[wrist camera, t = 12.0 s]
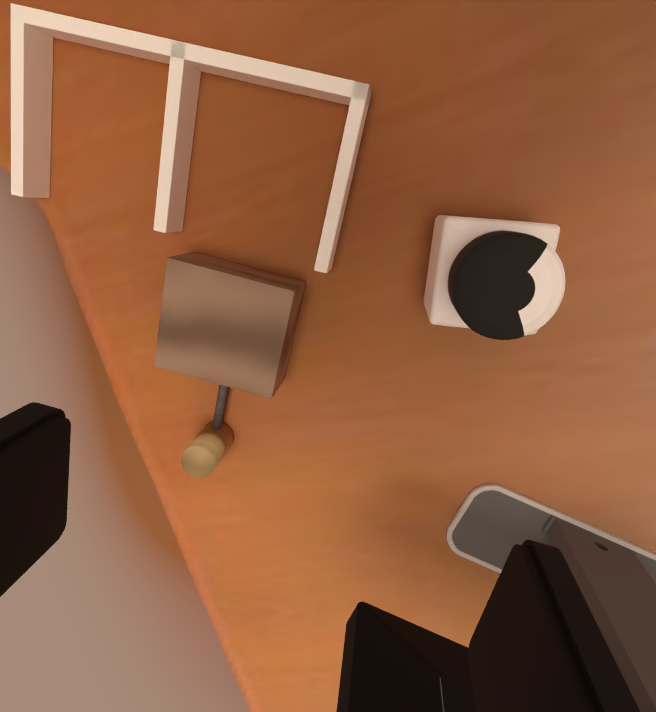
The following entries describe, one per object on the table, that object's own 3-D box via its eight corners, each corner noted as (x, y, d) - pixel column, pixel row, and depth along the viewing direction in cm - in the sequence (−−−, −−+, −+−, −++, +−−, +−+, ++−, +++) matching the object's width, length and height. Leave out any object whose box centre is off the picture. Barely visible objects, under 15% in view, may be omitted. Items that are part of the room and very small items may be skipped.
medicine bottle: (422, 304, 38) (435, 345, 26) (435, 214, 36) (455, 216, 24) (511, 313, 37) (563, 359, 26) (530, 222, 35) (596, 227, 23)
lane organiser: (41, 20, 35) (10, 3, 32) (371, 94, 34) (369, 84, 31) (38, 195, 39) (11, 194, 36) (331, 268, 38) (326, 273, 35)
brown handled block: (194, 251, 39) (164, 258, 34) (306, 281, 39) (293, 292, 34) (169, 432, 45) (140, 461, 40) (266, 460, 45) (250, 493, 39)
